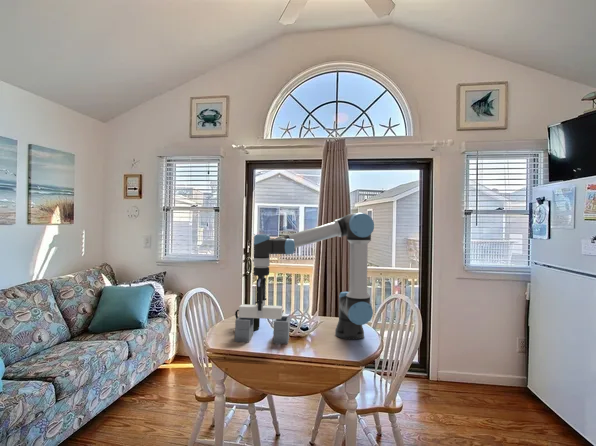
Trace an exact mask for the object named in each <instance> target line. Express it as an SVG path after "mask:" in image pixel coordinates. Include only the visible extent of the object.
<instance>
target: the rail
mask: <svg viewBox="0 0 596 446" xmlns="http://www.w3.org/2000/svg"><path fill="white" fill-rule="evenodd" d="M238 310H239V311H238V317H241V318H260V319H269V320H276V319H281V318H282V316H283V305H266V304H265V305H263V317H257V304H240V305H239V306H238Z"/></svg>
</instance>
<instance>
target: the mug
mask: <svg viewBox="0 0 596 446" xmlns="http://www.w3.org/2000/svg"><path fill="white" fill-rule="evenodd" d="M238 313H239V309H236V310H235V313H234V316H235V320H236V319H237V318H238V317H239V314H238ZM260 319H261V318H254V319H253V332H255V331H257V330H259V329H260V321H261V320H260Z"/></svg>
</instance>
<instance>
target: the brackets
mask: <svg viewBox="0 0 596 446" xmlns="http://www.w3.org/2000/svg"><path fill="white" fill-rule="evenodd" d="M253 319H254V318H241V317H239V316H238V318H237V319H236V318H235V321H234V323H235V326H234V327H235V328H234V330H235V331H234V342H236V343H237V342H239V343H249V342H250V341H251V340H252V338H253V336H254V331H253ZM290 326H291V316H289V315H288V316H287V315H286V316H285V315H282V318H281V319H275V320H274V321H273V336H272V337H273V344H277V345H278V344H279V345H280V344H281V345H288V343H289V340H290V336H289V332H290V329H291V327H290Z"/></svg>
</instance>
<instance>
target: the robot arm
mask: <svg viewBox="0 0 596 446" xmlns="http://www.w3.org/2000/svg"><path fill="white" fill-rule="evenodd" d="M374 229H375V222H374V220H373V218H372V217H371V216H370V215H369V214H367V213H365V212H356V213H355V212H353V213H349V214H346V215H344V216H342V217H340V218H337V219H334V221H332V222H329V223H326V224H322V225H319V226H316V227H312V228H308V229H305V230H301V231H297V232H295V233H291V234H290V233H289V234H288V235H284V236H278V237H276V238H271V235H270V234H262V233H260V234H258V233H256V234H255V235H254V237H253V259H252V262H253V270H252V271H253V276H255V277H256V276H257V278H256V282H255V283H256V285H255V286H256V292H255V293H256V295H255V296H256V297H255V298H256V299H255V300H256V301H255V304H254V305H257V317H263V305H266V301H267V298H266V294H267V293H266V291H267V290H266V285H267V284H266V282H267V278H266V277H267V276H269V275H270V267H269V266H270V258H271V257H270V255H286V256H287V255H293V254H294V253H295V250H296V248H299V247H303V246H307V245H310V244H314V243H318V242H322V241H324V240H328V239H332V238H335V237H339V238H342V237H346V240H347V241H348V243H349V286H348V287H349V290H348V291H341V292H339V297H338V321H337V324H336V328H335V330H334V331H335V332H334V334H335V336H336V337H337V338H340V339H344V340H349V341H350V340H352V341H353V340H354V339H355V340H360V338H361V339H363V338H364V337H365V331H364V327H363V325H366V324H368V323H369V322H370V321H371V320H372V318H373V315H374V310H373V308H372V305H371V295H370V294H369V293H368V257H369V256H368V251H369V250H368V249H369V248H368V246H369V243H370V242H371V241H372V238H371V237H372V233H373V232H374Z"/></svg>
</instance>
